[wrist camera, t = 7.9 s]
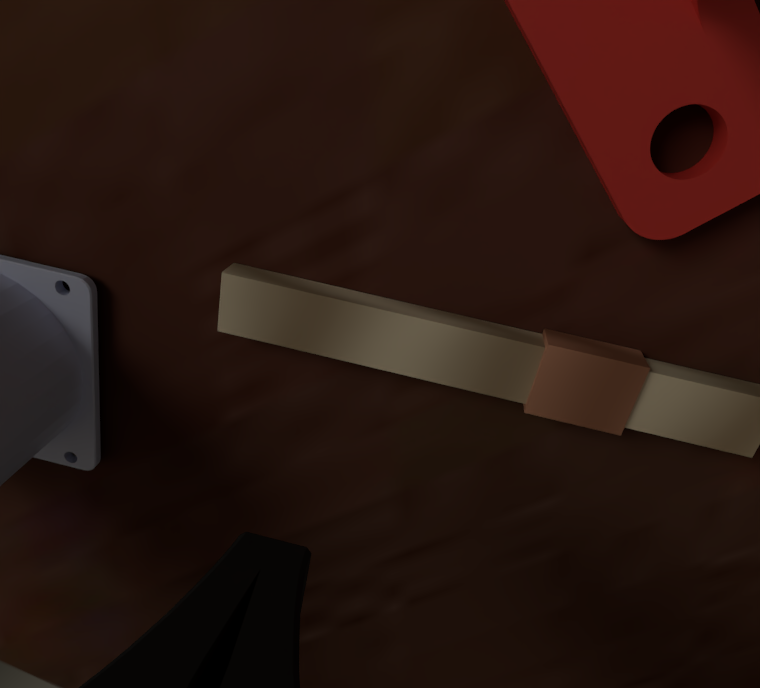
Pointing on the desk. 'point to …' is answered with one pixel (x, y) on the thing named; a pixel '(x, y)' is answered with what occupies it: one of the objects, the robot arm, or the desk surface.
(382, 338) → the guide track
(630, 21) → the bracket
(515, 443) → the desk surface
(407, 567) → the desk surface
